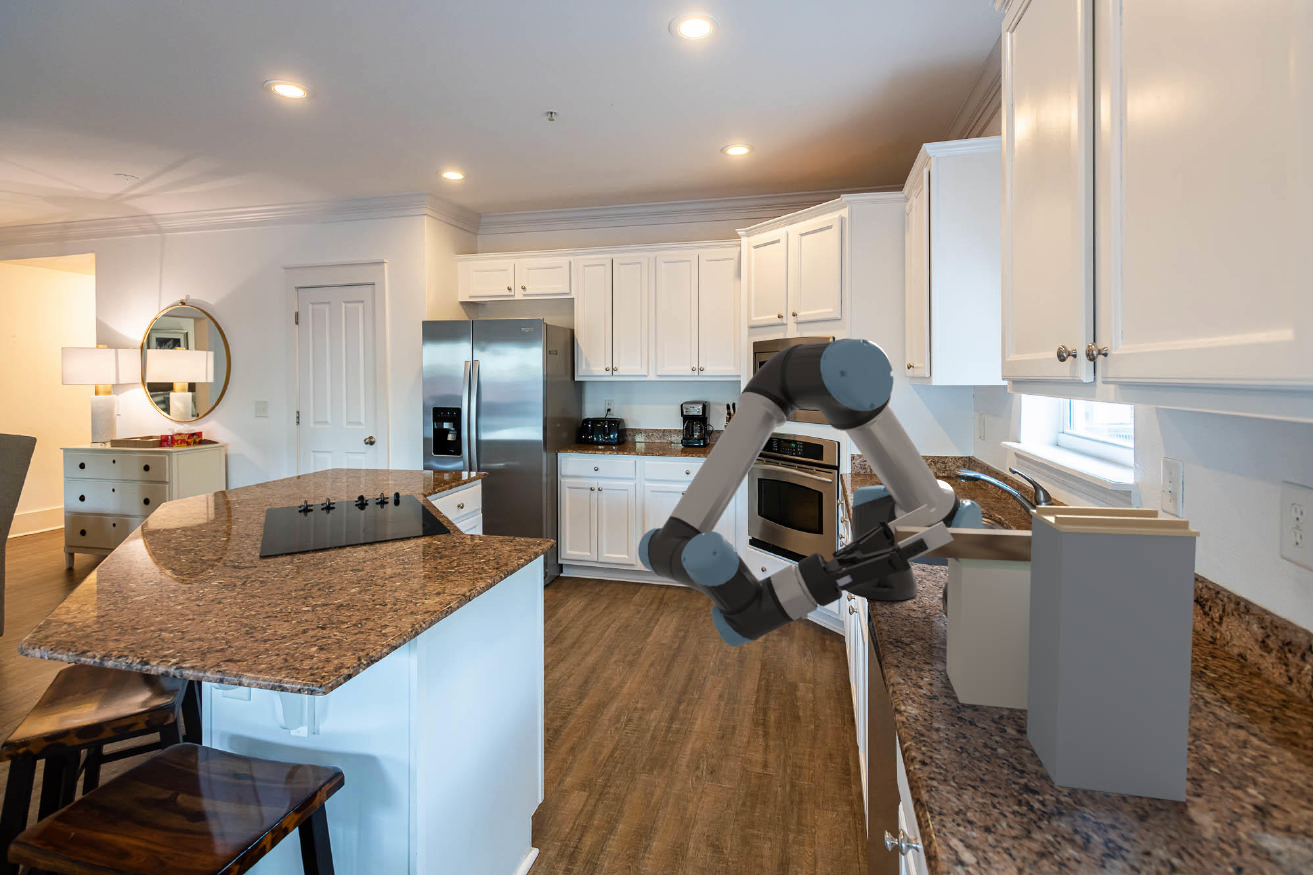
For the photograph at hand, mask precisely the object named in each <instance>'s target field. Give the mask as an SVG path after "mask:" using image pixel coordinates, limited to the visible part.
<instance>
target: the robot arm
mask: <svg viewBox="0 0 1313 875" xmlns="http://www.w3.org/2000/svg"><path fill="white" fill-rule="evenodd" d="M892 372H893V367H892V363H891V361H890V359H889V357H888V355H887V353H886V352H885V351H884V350H883V349H882V348H881V347H880V346H879V345H878V344H877V343H875V342H873V341H871V340H869V339H868V340H867V339H863V338H862V339H861V338H841V339H837V340H832V341H822V342H812V343H798V344H792V345H789V346H787V347H785V348H783V349H781V350H779V351H777V352H776V353H775V354H774V355H772V356H771V357H770V358H769V359H768V360H767V361H765V363H764V364H763V365H761V366H760V368H759V369H758V370H757V371H756V373H754V374H753V376H752V377H751V378H750V380H749V381H748V382H747V384H746V385H745V387H744V389H743V390H742V392H740V395H739V396H738V405H739V406H738V408H737V410H736V411H735V413H734V414H733V416H732V417H731V419H730V420H729V422H728V423H727V425H726V427H725V428H724V430H723V432H722V433H721V434H720V436H719V438H718V439H717V441H716V443H715V444H714V445H713V447H712V448H711V450H710V452H709V454H708V455H707V457H706V459H705V460H704V461H703V463H702V464H701V466H700V468H699V469H698V471H697V473H696V474H695V476H694V477H693V479H692V481H691V482H690V483H689V485H688V487H687V488H686V490H685V491H684V493H683V495H682V496H681V498H680V499H679V501H678V503H677V504H676V505H675V506H674V509H673V510H672V512H671V514H670V515H669V517H668V518H667V520H666V521H665V522H664V524H663V526H662V527H656V528H652V529H650V530H649V531H647V532H645V533H644V534H643V536H642V537H641V538H640V541H639V544H638V547H637V548H638V549H637V550H638V557H639V558H638V559H639V561H640V562H641V564H642V566H644V568H645V569H647V570H649V571H650V572H653V573H654V574H655V575H657V576H660V577H662V578H666V579H669V580H672V581H675V582H677V583H679V584H682V585H683V586H686V587H688V588H691V589H693V590H696V591H699V592H701V593H703V594H704V595H705V596H707V597H708V598H709V599H710V600H711V601H712V603H714V604H713V606H712V608H711V618H712V622H713V624H714V626H715V627H714V628H715V629H716V631H717V632H718V633H719V635H720V638H721V639H722V640H723V642H725V644H727V645H728V646H729V647H733V648H737V647H741V646H742V645H745V644H749V643H750V642H752V641H753V642H754V641H756V640H759V639H760V638H761V637H763V636H765V635H767V634H770V633H771V632H773V631H775V630H777V629H780V628H781V627H784V626H786V625H787V624H789V623H793V622H794V621H796V620H798V619H799V618H802V619H803V620H806V619H808V617H809V616H808V614H810V613H812V612H815V611H817V609H818V606H820V607H823V608H824V607H825V606H828V605H830V604H832V603H835V602H836V601H838V600H840V599H842V597H843V591H846V592H847V593H849V594H851V595H853V596H857V597H859V598H864V599H867V600H868V599H869V600H876V601H889V602H890V601H893V602H894V601H904V600H909V599H912V598H914V597H916V596H917V594H918V582H917V580H916V578H915V574H914V570H913V567H912V564H911V561H913V560H915V559H917V558H920V556H922V555H924V554H926V553H928V552H930V551H932V550H934V549H936V548H938V547H940V546H943V545H945V544H947V543H949V542H951V541H953V540H954V539H953V538H952V536H951V534H950V533H949V531H948V529H947V528H969V529H983V514H982V513H983V512H982V510H981V508H980V505H979V504H978V503H977V502H975V501H972V500H970V499H961V498H959V497H958V496H957V493H955V491H954V489H953V488H952V487H951V486H950V484H948V483H947V482H945V481H943V480H940V479H937V478H936V476H935V475H934V473H933V472H932V470H931V468H930V467H929V465H928V464H927V462H926V460H925V459H924V458H923V456H922V454H921V453H920V451H919V450H918V448H917V447H916V445H915V443H914V441H913V440H912V439H911V438H910V436H909V435H908V433H907V431H906V429H904V427H903V425H902V423H901V422H900V420H899V419H898V416H896V414H895V412H894V411H893V409H892V408H891V406H890V405H889V404H890V402H891V398H892V391H893V386H894V376H892V374H891V373H892ZM799 410H818V411H820V413H821V414H822V415H823V417H824V418H825V419H826V421H827V423H829V425H830V427H832V428H833V429H835V430H837V431H841V432H842V431H843V432H845V433H847V436H848V437H849V438H850V439H851V440H852V442H853V444H854V445H855V446H856V448H857V449H858V451H859V452H860V454H861V456H862V457H863V458H864V459H865V461H866V462H867V464H868V465H869V467H870V468H871V469H872V471H873V472H874V473H875V475H876V476H877V478H878V479H879V481H880V482H881V484H880V485H879V484H878V485H871V486H870V485H868V486H860V487H858V488H857V489H855V490H854V491H853V494H852V505H851V529H852V530H851V533H852V534H851V535H852V536H851V537H852V538H851V539H852V540H851V542H849V543H848V544H847V545H845V546H843V547H841V548H840V549H838V550H835V551H833V552H832V553H831V555H832V557H833V558H831V560H830V561H827V560H826V559H825V557H824V556H823V555H822V553H820V552H814V553H812V554H810V555H809V556H807V557H805V558H803V559H801V560H799V561H798V563H797V565H796V564H793V563H792V564H789V565H788V566H786V567H784V568H782V569H780V570H779V571H777V572H775V573H773V574H771V575H769V576H767V577H765V578H763V579H761V580H758V578H757V577H756V575H754V573H753V572H752V571H751V569H750V568H749V567H748V565H747V564H746V563H745V561H744V560H743V559H742V557H741V556H740V555H739V553H738V551H737V549H736V548H735V547H734V546H733V544H732V543H730V542H729V541H728V540H727V539H726V537H724V536H723V535H722V534H720V533H719V532H717V531H714V530H715V528H716V526H717V524H718V523H719V521H720V520H721V518H722V516H723V515H724V513H725V511H726V510H727V508H728V506H729V505H730V503H731V501H732V500H733V498H734V496H735V495H736V493H737V491H738V490H739V488H740V487H741V485H742V483H743V482H744V480H745V478H746V477H747V476H748V474H749V471H751V468H752V467H753V465H754V463H755V462H756V460H757V459H758V457H759V456H760V453H761V452H762V451H763V449H764V447H765V446H766V444H767V442H769V441H768V440H769V439H770V438H771V436H772V434H773V433H774V431H775V429H776V428H780V427H782V426H784V425H785V423H786V422H787V421H788V418H789V417H790V416H791V415H792V414H793V413H795V412H796V411H799ZM895 526H910V527H929V528H927V529H925V530H923V531H921V532H919V533H917V534H915V535H913V536H911V537H909V538H907V539H905V540H903V541H901V542H899V543H898V545H899V546H897V547H894V531H895ZM899 547H900V548H899ZM946 559H947V560H948V558H945V560H946Z"/></svg>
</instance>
